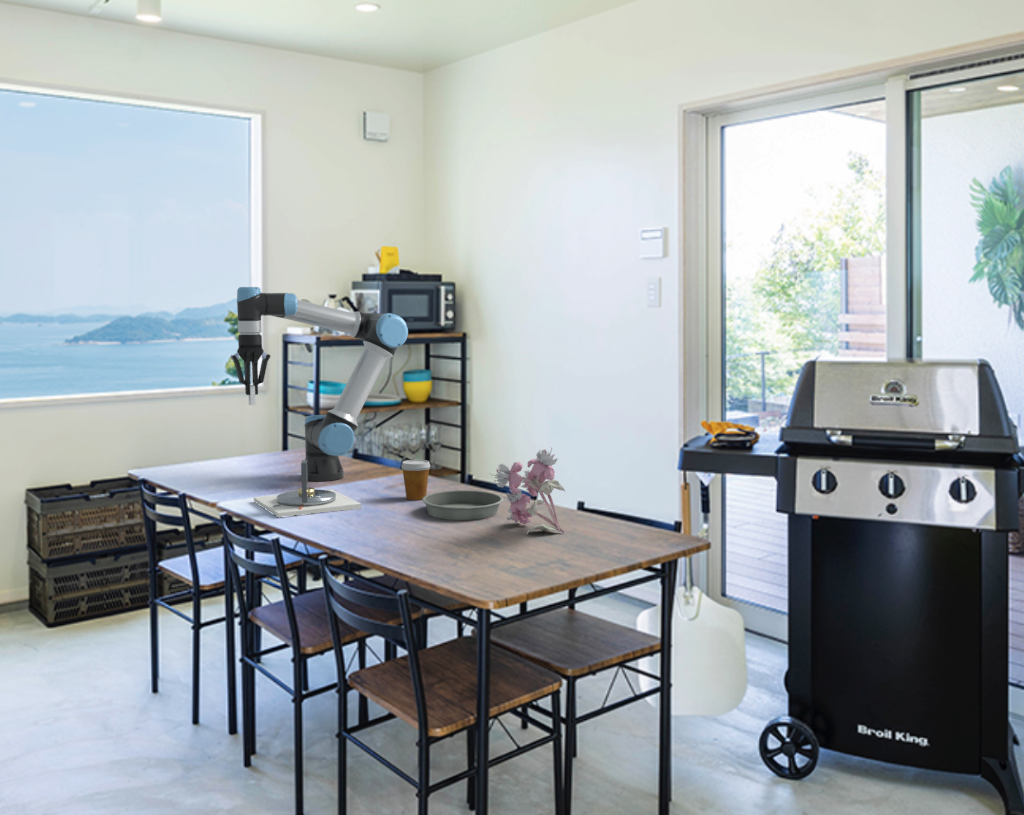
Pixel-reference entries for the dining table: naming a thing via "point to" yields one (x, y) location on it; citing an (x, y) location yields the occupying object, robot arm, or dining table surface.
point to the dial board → (289, 510)
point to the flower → (530, 489)
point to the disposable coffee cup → (415, 478)
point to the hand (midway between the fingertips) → (252, 404)
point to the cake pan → (462, 504)
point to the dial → (305, 493)
